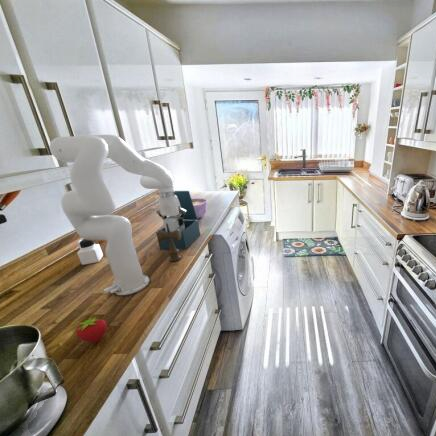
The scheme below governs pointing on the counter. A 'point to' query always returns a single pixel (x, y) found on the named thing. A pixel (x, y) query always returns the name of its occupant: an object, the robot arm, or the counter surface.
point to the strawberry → (92, 330)
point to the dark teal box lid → (186, 205)
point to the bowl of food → (200, 206)
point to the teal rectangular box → (183, 236)
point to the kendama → (170, 241)
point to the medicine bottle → (89, 251)
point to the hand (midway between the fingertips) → (174, 224)
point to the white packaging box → (173, 224)
